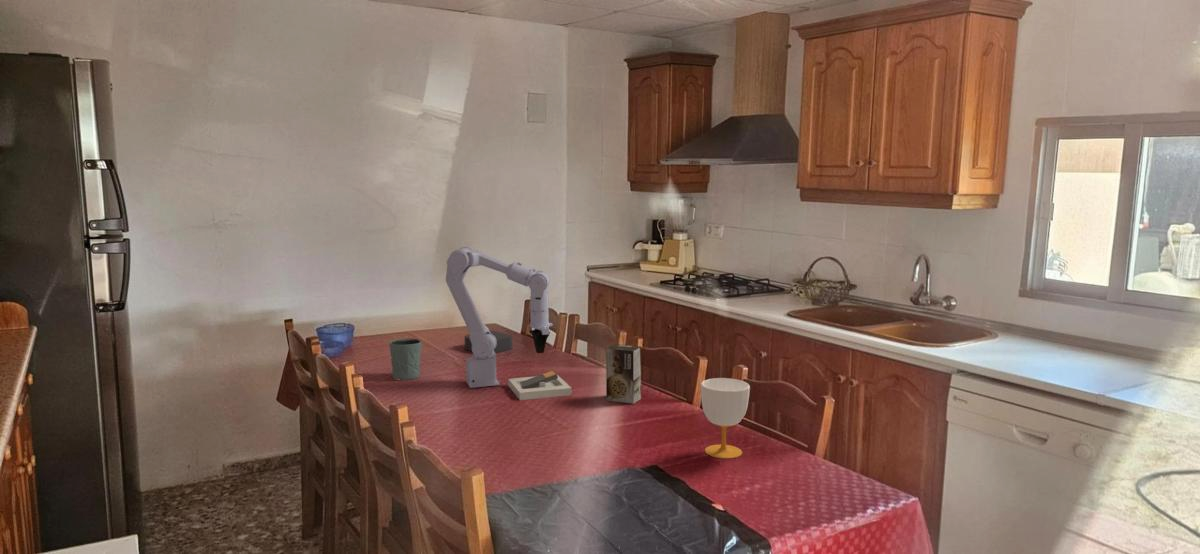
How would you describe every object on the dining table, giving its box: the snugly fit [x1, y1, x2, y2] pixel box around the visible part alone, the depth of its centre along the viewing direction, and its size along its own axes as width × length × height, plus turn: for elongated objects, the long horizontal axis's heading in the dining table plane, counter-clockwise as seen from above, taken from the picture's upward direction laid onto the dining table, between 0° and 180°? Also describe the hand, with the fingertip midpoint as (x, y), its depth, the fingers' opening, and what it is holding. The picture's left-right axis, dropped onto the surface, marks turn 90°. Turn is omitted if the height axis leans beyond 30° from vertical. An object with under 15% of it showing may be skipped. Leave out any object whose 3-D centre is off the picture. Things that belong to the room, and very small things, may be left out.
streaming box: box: [464, 330, 513, 354], centre depth 297 cm, size 14×14×5 cm
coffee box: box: [605, 343, 642, 405], centre depth 233 cm, size 9×6×16 cm
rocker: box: [520, 370, 559, 389], centre depth 242 cm, size 11×5×1 cm, turn 109°
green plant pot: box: [389, 338, 423, 381], centre depth 257 cm, size 10×10×12 cm
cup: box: [700, 377, 751, 460], centre depth 190 cm, size 12×12×17 cm
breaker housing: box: [507, 374, 573, 401], centre depth 242 cm, size 16×16×4 cm
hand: (540, 352), depth 248 cm, fingers closed
